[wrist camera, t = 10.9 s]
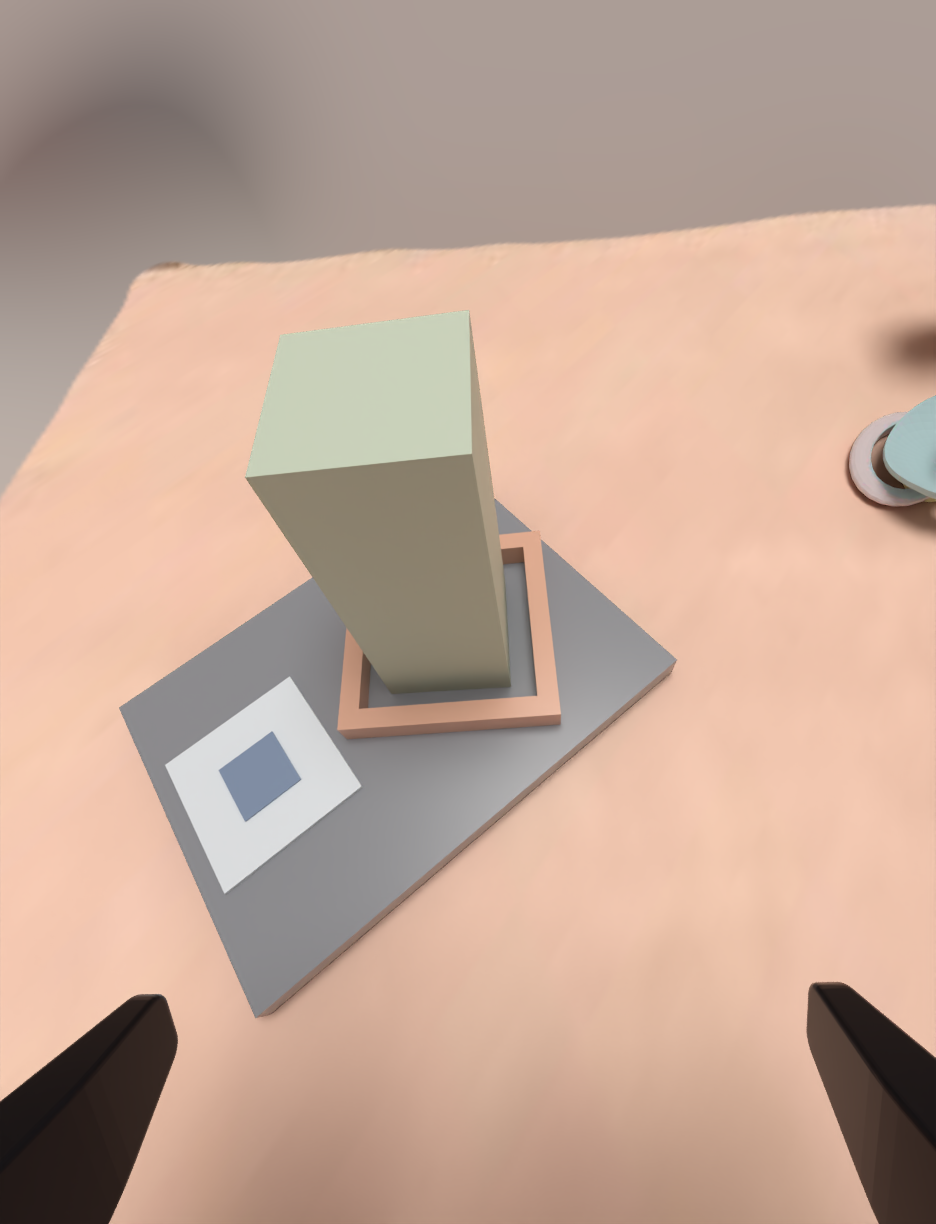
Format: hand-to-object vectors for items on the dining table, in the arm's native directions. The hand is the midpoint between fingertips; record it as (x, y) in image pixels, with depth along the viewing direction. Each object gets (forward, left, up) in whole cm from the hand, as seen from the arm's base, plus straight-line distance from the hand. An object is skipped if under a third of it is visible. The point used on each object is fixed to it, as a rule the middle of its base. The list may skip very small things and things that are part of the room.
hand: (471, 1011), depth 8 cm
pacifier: (+28, +4, -14) cm, 32 cm away
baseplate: (+2, +11, -13) cm, 17 cm away
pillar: (+6, +11, -12) cm, 17 cm away
